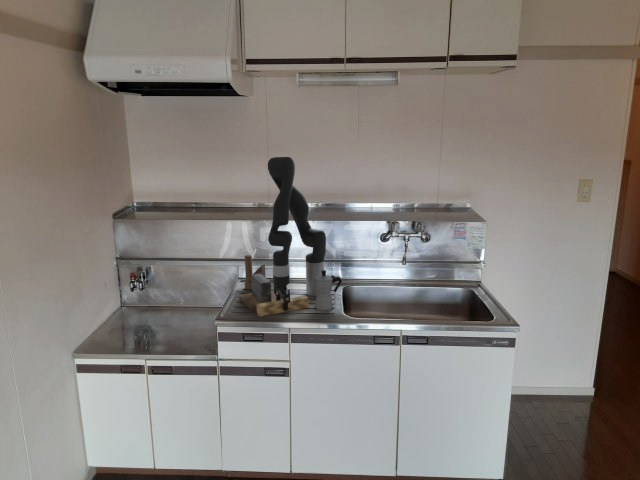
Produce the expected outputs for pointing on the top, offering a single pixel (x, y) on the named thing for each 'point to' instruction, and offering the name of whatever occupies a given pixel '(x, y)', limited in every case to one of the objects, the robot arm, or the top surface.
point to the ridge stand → (258, 292)
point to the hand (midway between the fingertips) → (282, 307)
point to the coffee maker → (325, 290)
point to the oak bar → (281, 306)
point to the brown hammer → (249, 271)
